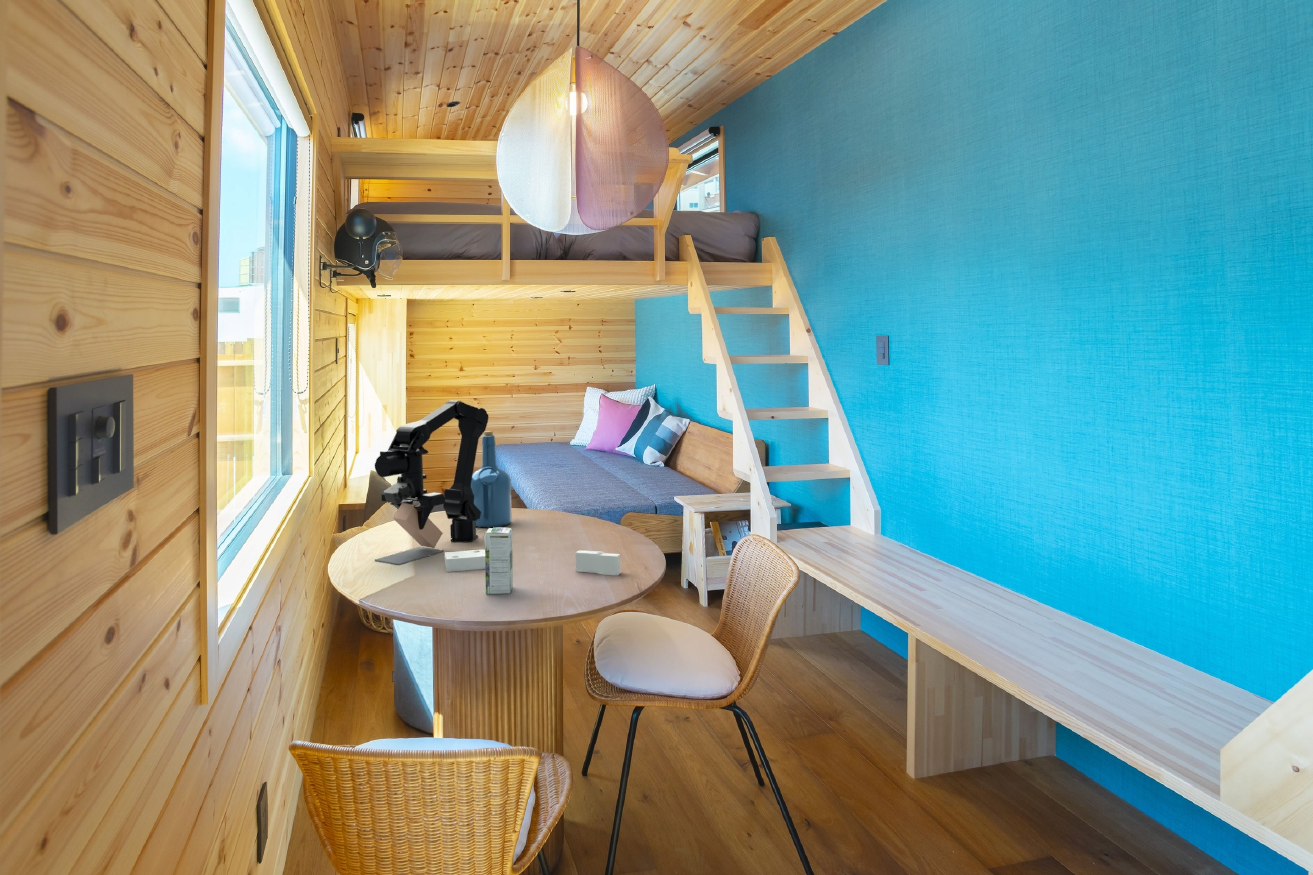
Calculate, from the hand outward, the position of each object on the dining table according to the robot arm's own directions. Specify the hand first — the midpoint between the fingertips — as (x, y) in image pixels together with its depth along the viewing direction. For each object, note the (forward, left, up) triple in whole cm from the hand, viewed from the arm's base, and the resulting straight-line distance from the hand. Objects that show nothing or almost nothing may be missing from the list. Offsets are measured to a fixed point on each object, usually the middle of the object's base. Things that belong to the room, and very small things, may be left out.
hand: (414, 528), depth 224 cm
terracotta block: (-3, -6, -4) cm, 8 cm away
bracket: (-19, +11, -8) cm, 23 cm away
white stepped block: (-53, +15, -8) cm, 56 cm away
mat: (+1, +2, -7) cm, 8 cm away
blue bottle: (-10, -39, -8) cm, 41 cm away
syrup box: (-32, +31, -8) cm, 46 cm away
